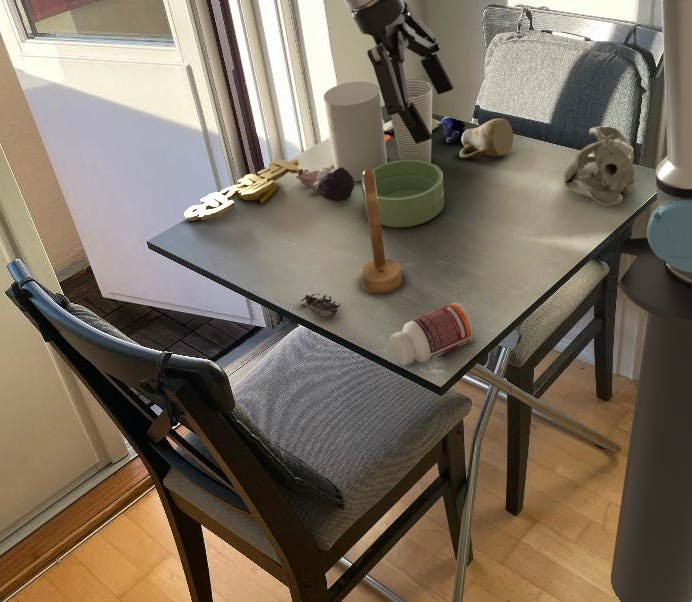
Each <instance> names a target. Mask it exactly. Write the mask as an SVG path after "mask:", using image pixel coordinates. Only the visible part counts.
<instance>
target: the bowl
mask: <svg viewBox="0 0 692 602" xmlns="http://www.w3.org/2000/svg"><path fill="white" fill-rule="evenodd" d="M372 171H373V172H374V174H375V181H376V190H377V198H378V206H379V214H380V222H381V226H384V227H387V228H388V227H389V228H411V227H415V226H419V225H423V224H425V223H427V222H429V221H430V220H432V219H434V218H435V217H436V216H438V215H439V214H440V212H442V211H443V209H444V206H445V189H444V176H443V171H442V170H441V168H440V167H439V166H438V165H437V164H435V163H432V162H431V163H430V162H426V161H421V160H407V159H406V160H400V159H398V160H393V161H389V162H387V163H385V164H382V165H380V166H378V167H375V168H373V169H372ZM361 189H362V198H363V204H364V211H365V214H366V216H367V217H368V213H367V206H366V198H365V191H364V183H363V180H362V181H361Z"/></svg>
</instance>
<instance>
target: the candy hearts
mask: <svg viewBox="0 0 692 602" xmlns="http://www.w3.org/2000/svg"><path fill="white" fill-rule="evenodd" d="M387 122H388V123H387ZM387 122H385V120H384V119H383V128H384V132H388V131H389V130H388V129H389V128H391V127H392V126H393V124H392V123H390V122H389V121H387ZM387 130H388V131H387ZM384 137H385V144H387V142H388V141H389V140H390V139H391V135H389V134H384Z"/></svg>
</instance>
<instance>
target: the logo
mask: <svg viewBox="0 0 692 602" xmlns="http://www.w3.org/2000/svg"><path fill="white" fill-rule="evenodd" d="M278 183H279V182H275V185H274V186H273V187H272V188H270V189H268V190H266V191H265V192H263V193H261V194H259V195H257V196H255V197H248V198H244V199H243V198H242V196H240V194H237V196H238V198H239V199H241V200H242V201H243V200H244V201H255V200H260V203H262V204H263V203H264V202H265V201H266V200H267V199H268V198H269V197H271V195H272V194H273V193H274V192H275V191H276V190H277V189H278V188H279V184H278ZM253 184H254V183H253Z"/></svg>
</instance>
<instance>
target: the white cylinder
mask: <svg viewBox="0 0 692 602" xmlns="http://www.w3.org/2000/svg"><path fill="white" fill-rule="evenodd" d="M380 93H381V91H380V87H379V85H377V84H375V83H373V82H369V81H350V82H349V81H348V82H344V83H341V84H338V85H335V86H333V87H331V88H329V89H328V90H327V91H325V93H324V95H323V102H324V108H325V114H326V121H327V128H328V133H329V140H330V145H331V146H330V147H331V152H332V158H333V159H332V160H333V164H334V165H333V166H334V167H335V168H339V167H342V168H344V169H345V170H347V171H348V172H349V174H350V175H351V176H352V177H353V180H354V182H362V180H363V172H364V171H365V170H367V169H370V170H372V169H373V168H375V167H378V166H380V165H382V164H385V163H388V156H387V147H386V143H385V137H384V135H385V131H384V128H383V124H384V123H383V120H384V119H383V110H382V102H381V94H380Z"/></svg>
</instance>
